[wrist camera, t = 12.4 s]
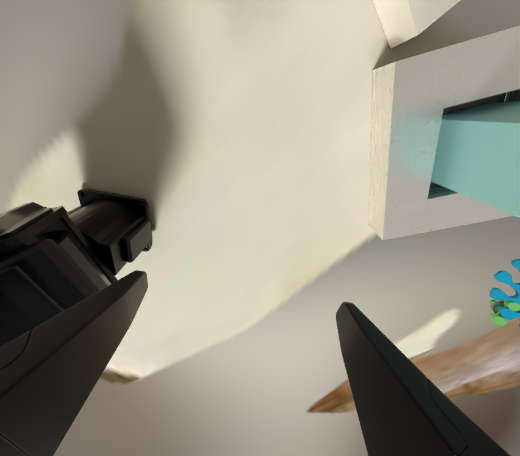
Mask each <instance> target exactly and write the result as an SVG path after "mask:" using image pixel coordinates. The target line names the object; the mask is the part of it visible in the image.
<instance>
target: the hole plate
mask: <svg viewBox="0 0 520 456" xmlns="http://www.w3.org/2000/svg"><path fill="white" fill-rule="evenodd" d="M507 92H508V94H507V97H506V100H505V102H511V101H520V25H519V26H516V27H512V28H509V29H506V30H502V31H499V32H495V33H492V34H489V35H485V36H481V37H478V38H475V39H471V40H468V41H464V42H461V43H457V44H454V45H451V46H447V47H444V48H440V49H437V50H433V51H430V52H426V53H423V54H420V55H416V56H413V57H409V58H406V59H402V60H399V61H396V62H393V63H390V64H388V65H385V66H382V67H380V68H377V69H374V70H373V79H372V117H371V156H370V194H369V226H370V227H371V228H372V229H373V230H374V231H375V232H376V233H377V234H378V235H379V236H380V238H381V239H382V240H386V239H391V238H397V237H402V236H407V235H413V234H418V233H423V232H429V231H434V230H439V229H445V228H450V227H455V226H460V225H466V224H471V223H477V222H482V221H487V220H493V219H498V218H503V217H509V216H514V215H512V214H509V213H507V212H504V211H502V210H499V209H497V208H494V207H492V206H490V205H487V204H485V203H482V202H480V201H477V200H475V199H473V198H470V197H468V196H465V195H463V194H460V193H458V192H456V191H453V190H451V189H448V188H446V187H443V186H441V185H438V184H436V183H434V182H432V183H430V182H431V177H432V171H433V165H434V160H435V154H436V149H437V143H438V137H439V132H440V126H441V121H442V115H445V114H449V113H453V112H457V111H461V110H465V109H469V108H473V107H477V106H481V105H485V104H488V103H492V102H504V99H505V96H506V93H507Z"/></svg>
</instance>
